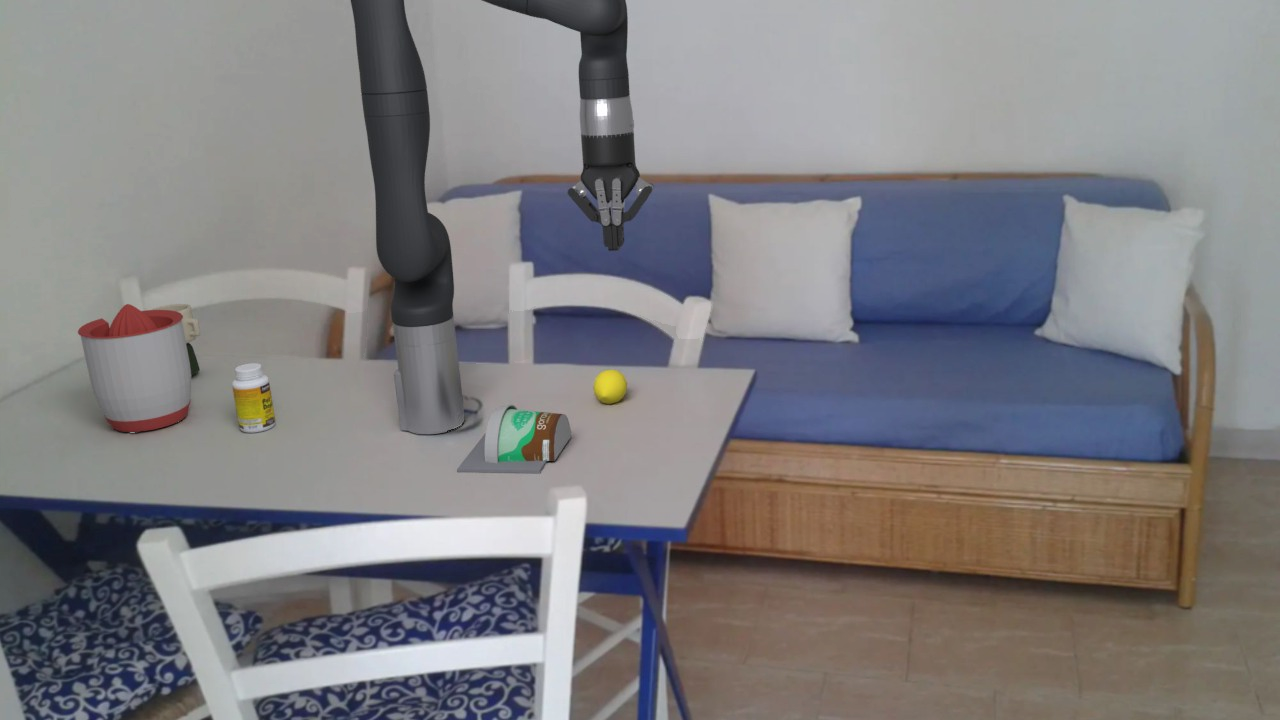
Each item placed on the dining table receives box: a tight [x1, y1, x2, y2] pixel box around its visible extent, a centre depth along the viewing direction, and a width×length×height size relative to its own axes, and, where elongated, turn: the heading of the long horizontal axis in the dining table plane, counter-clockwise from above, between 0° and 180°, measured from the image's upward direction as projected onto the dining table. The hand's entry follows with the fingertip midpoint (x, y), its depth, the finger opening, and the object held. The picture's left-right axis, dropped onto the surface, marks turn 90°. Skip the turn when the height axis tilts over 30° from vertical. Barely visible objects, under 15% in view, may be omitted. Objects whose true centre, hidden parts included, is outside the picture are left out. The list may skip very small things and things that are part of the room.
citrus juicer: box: [77, 303, 192, 433], centre depth 185 cm, size 16×17×20 cm
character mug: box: [151, 303, 201, 377], centre depth 208 cm, size 11×7×13 cm, turn 74°
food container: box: [485, 404, 572, 463], centre depth 165 cm, size 12×6×10 cm
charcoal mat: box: [456, 432, 548, 474], centre depth 166 cm, size 12×16×1 cm
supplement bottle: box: [231, 362, 276, 434], centre depth 180 cm, size 6×6×10 cm
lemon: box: [592, 369, 628, 405], centre depth 183 cm, size 7×5×5 cm
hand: (614, 249), depth 167 cm, fingers closed
